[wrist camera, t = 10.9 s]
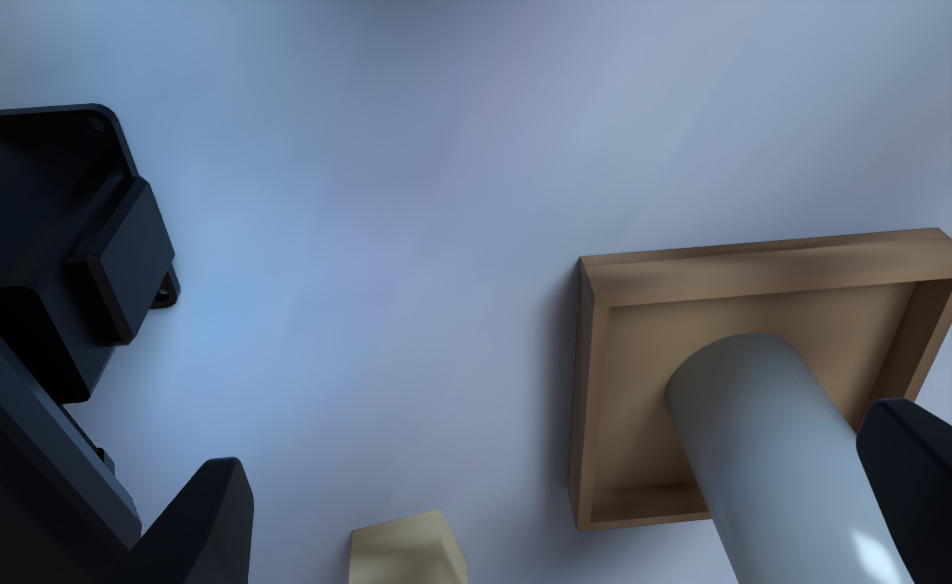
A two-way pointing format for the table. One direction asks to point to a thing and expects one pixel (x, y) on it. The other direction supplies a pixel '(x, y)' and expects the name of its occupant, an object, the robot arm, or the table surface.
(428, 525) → the beech cube
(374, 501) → the table surface
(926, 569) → the robot arm
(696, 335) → the tray
